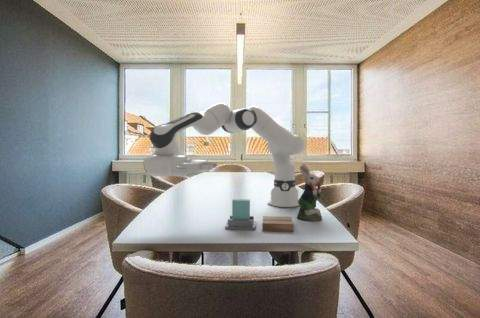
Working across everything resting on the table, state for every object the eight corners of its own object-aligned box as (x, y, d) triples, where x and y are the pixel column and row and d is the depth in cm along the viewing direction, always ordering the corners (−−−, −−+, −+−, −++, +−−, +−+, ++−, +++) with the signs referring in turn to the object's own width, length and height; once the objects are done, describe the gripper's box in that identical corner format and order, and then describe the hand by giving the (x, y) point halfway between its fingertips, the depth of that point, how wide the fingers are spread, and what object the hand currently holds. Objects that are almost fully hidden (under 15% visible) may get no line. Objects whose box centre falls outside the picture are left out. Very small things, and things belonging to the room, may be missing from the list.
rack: (228, 222, 136) (228, 214, 136) (256, 223, 135) (256, 215, 135) (225, 229, 126) (225, 220, 126) (254, 229, 125) (254, 221, 125)
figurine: (321, 225, 138) (330, 169, 136) (291, 220, 141) (300, 165, 138) (320, 219, 149) (329, 167, 146) (292, 214, 151) (300, 162, 149)
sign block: (233, 222, 132) (233, 199, 132) (249, 223, 132) (249, 199, 131) (232, 224, 129) (232, 200, 129) (249, 224, 129) (249, 200, 128)
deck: (263, 223, 136) (263, 216, 135) (291, 223, 134) (291, 217, 134) (262, 230, 124) (262, 223, 123) (293, 231, 122) (293, 224, 122)
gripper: (174, 160, 121) (209, 160, 120) (188, 157, 141) (218, 157, 140) (174, 176, 121) (210, 176, 120) (188, 171, 142) (218, 171, 140)
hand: (214, 166), depth 130 cm, fingers open, 8 cm apart
